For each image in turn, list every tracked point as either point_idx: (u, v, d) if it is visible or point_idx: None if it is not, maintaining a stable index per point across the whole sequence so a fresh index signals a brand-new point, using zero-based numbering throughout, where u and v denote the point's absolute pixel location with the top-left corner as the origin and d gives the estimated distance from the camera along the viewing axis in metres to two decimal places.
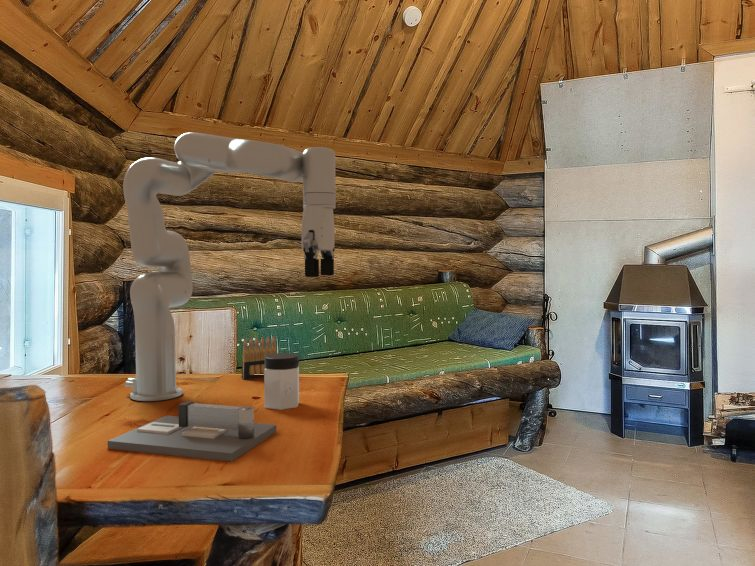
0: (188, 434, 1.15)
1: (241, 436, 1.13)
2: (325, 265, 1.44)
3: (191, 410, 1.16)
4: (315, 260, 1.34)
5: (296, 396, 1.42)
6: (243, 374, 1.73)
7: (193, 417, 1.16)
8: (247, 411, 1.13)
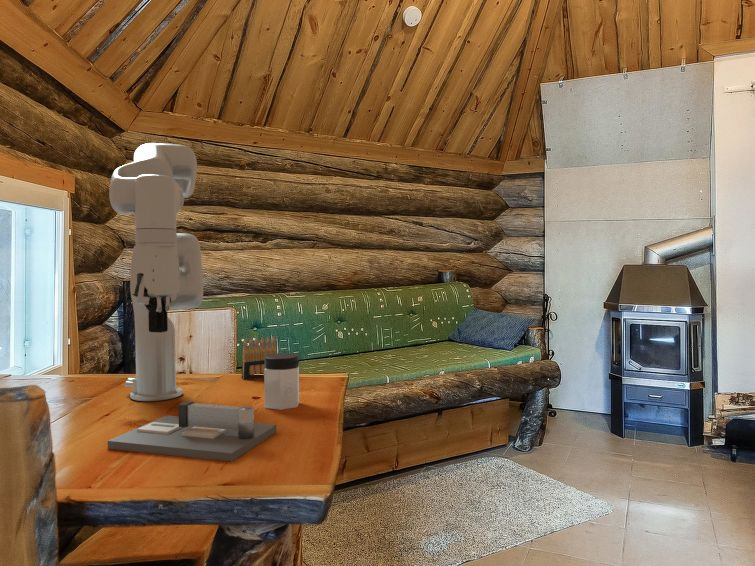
0: (188, 434, 1.15)
1: (241, 436, 1.13)
2: None
3: (191, 410, 1.16)
4: (159, 313, 1.17)
5: (296, 396, 1.42)
6: (243, 374, 1.73)
7: (193, 417, 1.16)
8: (247, 411, 1.13)
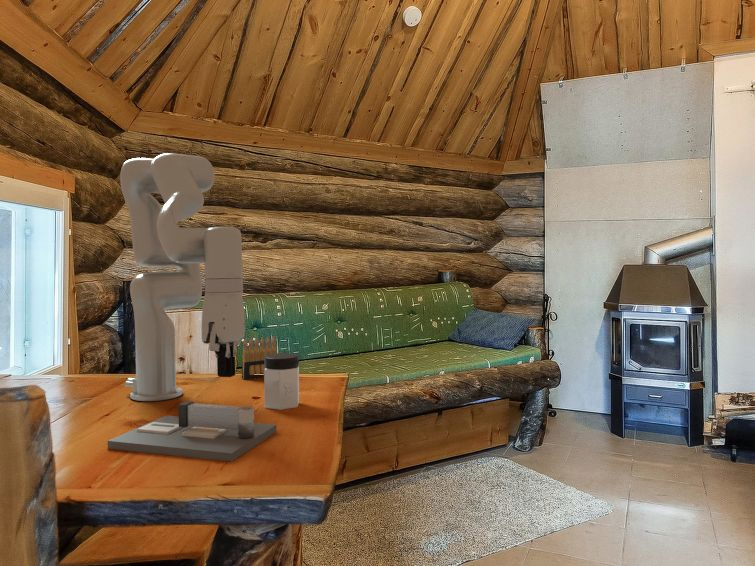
0: (188, 434, 1.15)
1: (241, 436, 1.13)
2: None
3: (191, 410, 1.16)
4: (228, 359, 1.22)
5: (296, 396, 1.42)
6: (243, 374, 1.73)
7: (193, 417, 1.16)
8: (247, 411, 1.13)
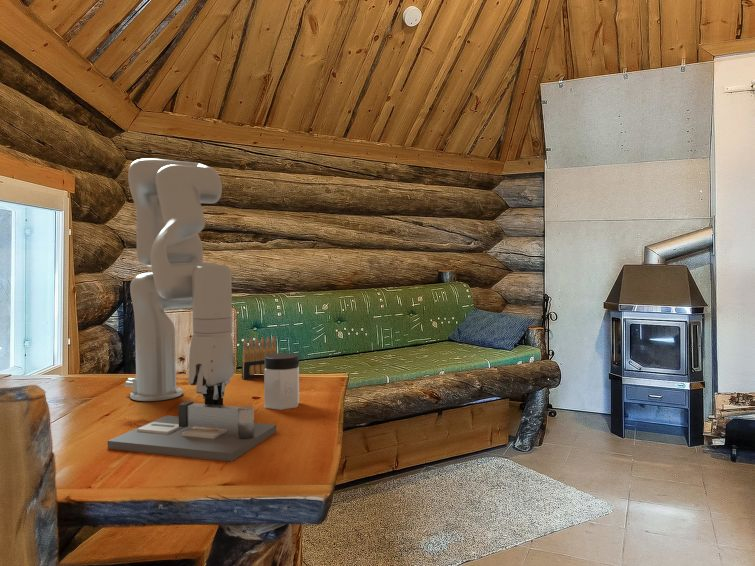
0: (188, 434, 1.15)
1: (241, 436, 1.13)
2: None
3: (191, 410, 1.16)
4: (216, 400, 1.19)
5: (296, 396, 1.42)
6: (243, 374, 1.73)
7: (193, 417, 1.16)
8: (247, 411, 1.13)
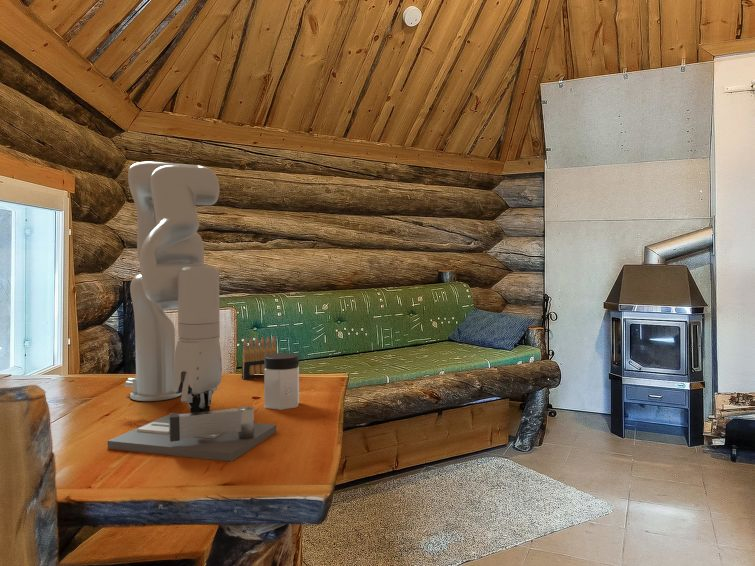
0: None
1: (246, 436, 1.13)
2: None
3: (185, 421, 1.09)
4: (202, 409, 1.13)
5: (296, 396, 1.42)
6: (243, 374, 1.73)
7: (187, 428, 1.09)
8: (252, 410, 1.14)
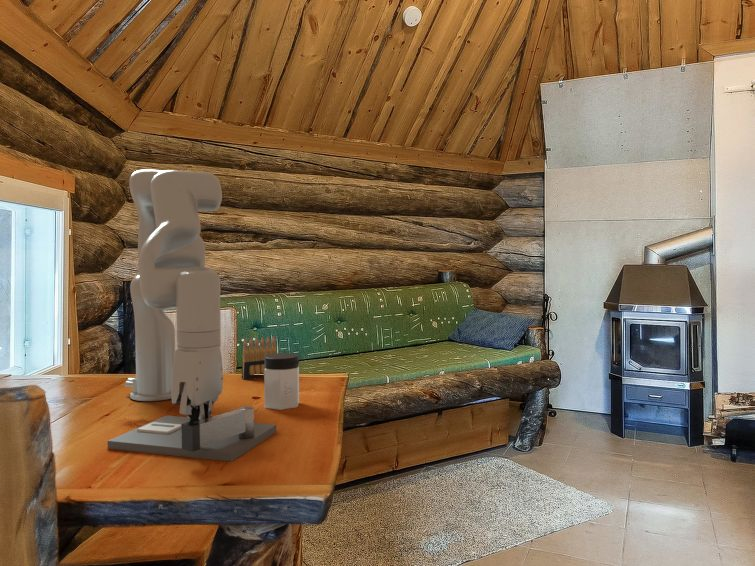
0: None
1: (251, 435, 1.14)
2: None
3: (202, 428, 1.04)
4: None
5: (296, 396, 1.42)
6: (243, 374, 1.73)
7: (205, 435, 1.05)
8: (253, 409, 1.14)
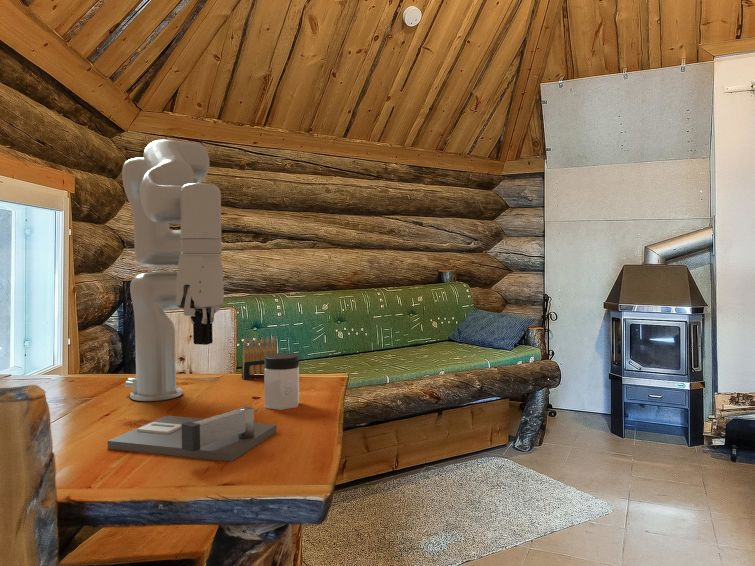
0: None
1: (251, 435, 1.14)
2: None
3: (203, 428, 1.04)
4: (204, 325, 1.15)
5: (296, 396, 1.42)
6: (243, 374, 1.73)
7: (205, 435, 1.05)
8: (253, 409, 1.14)
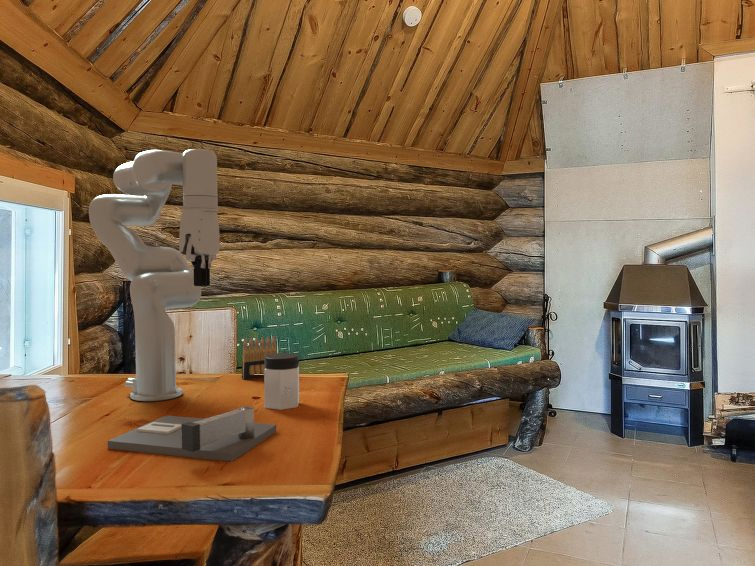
0: None
1: (251, 435, 1.14)
2: None
3: (203, 428, 1.04)
4: (203, 269, 1.36)
5: (296, 396, 1.42)
6: (243, 374, 1.73)
7: (205, 435, 1.05)
8: (253, 409, 1.14)
